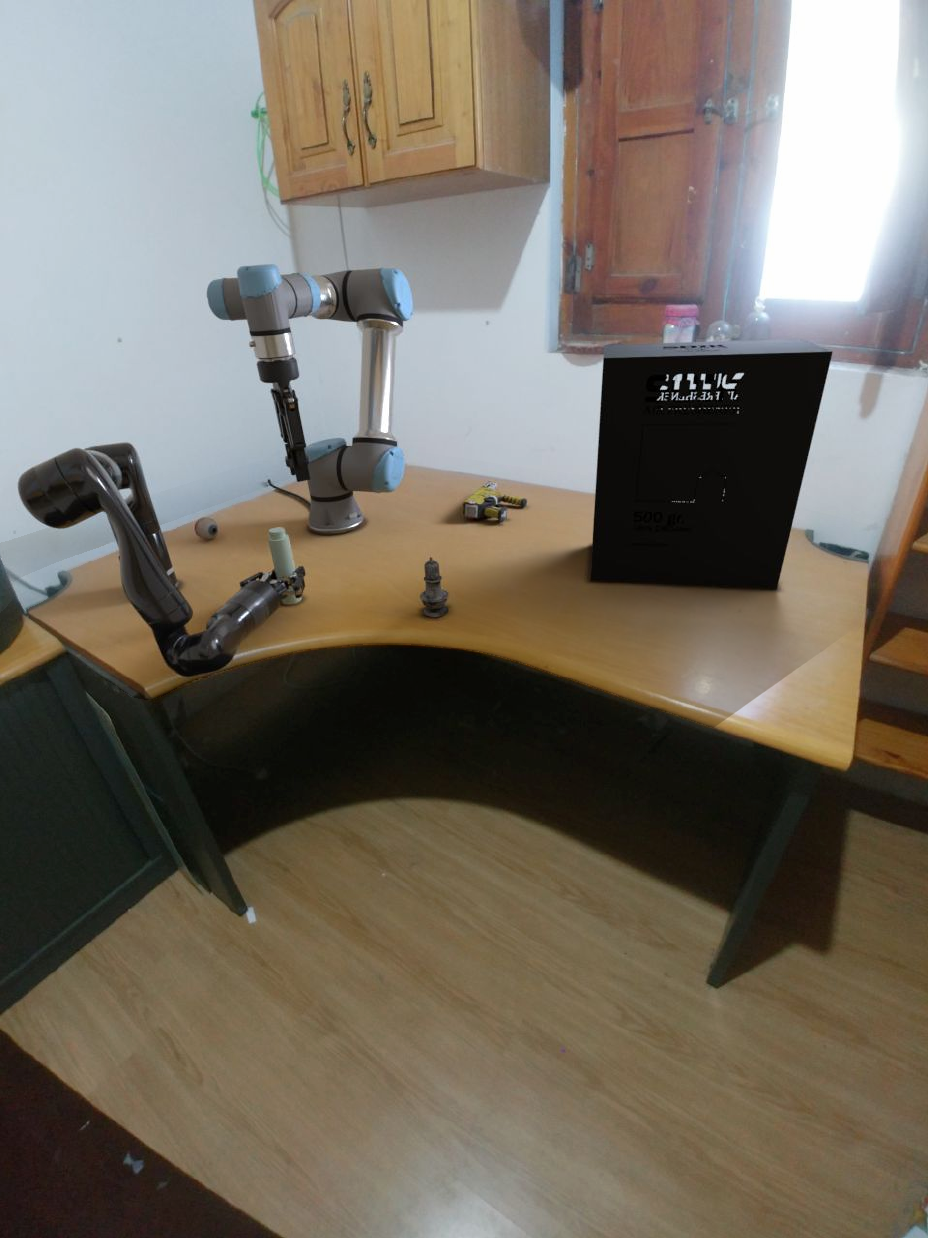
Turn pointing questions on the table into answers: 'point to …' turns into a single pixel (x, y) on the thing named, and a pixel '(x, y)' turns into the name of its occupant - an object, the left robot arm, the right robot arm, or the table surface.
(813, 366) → the cardboard box
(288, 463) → the lid
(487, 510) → the toy gun
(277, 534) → the bottle
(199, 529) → the eyeball
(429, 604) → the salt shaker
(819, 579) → the table surface
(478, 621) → the table surface
